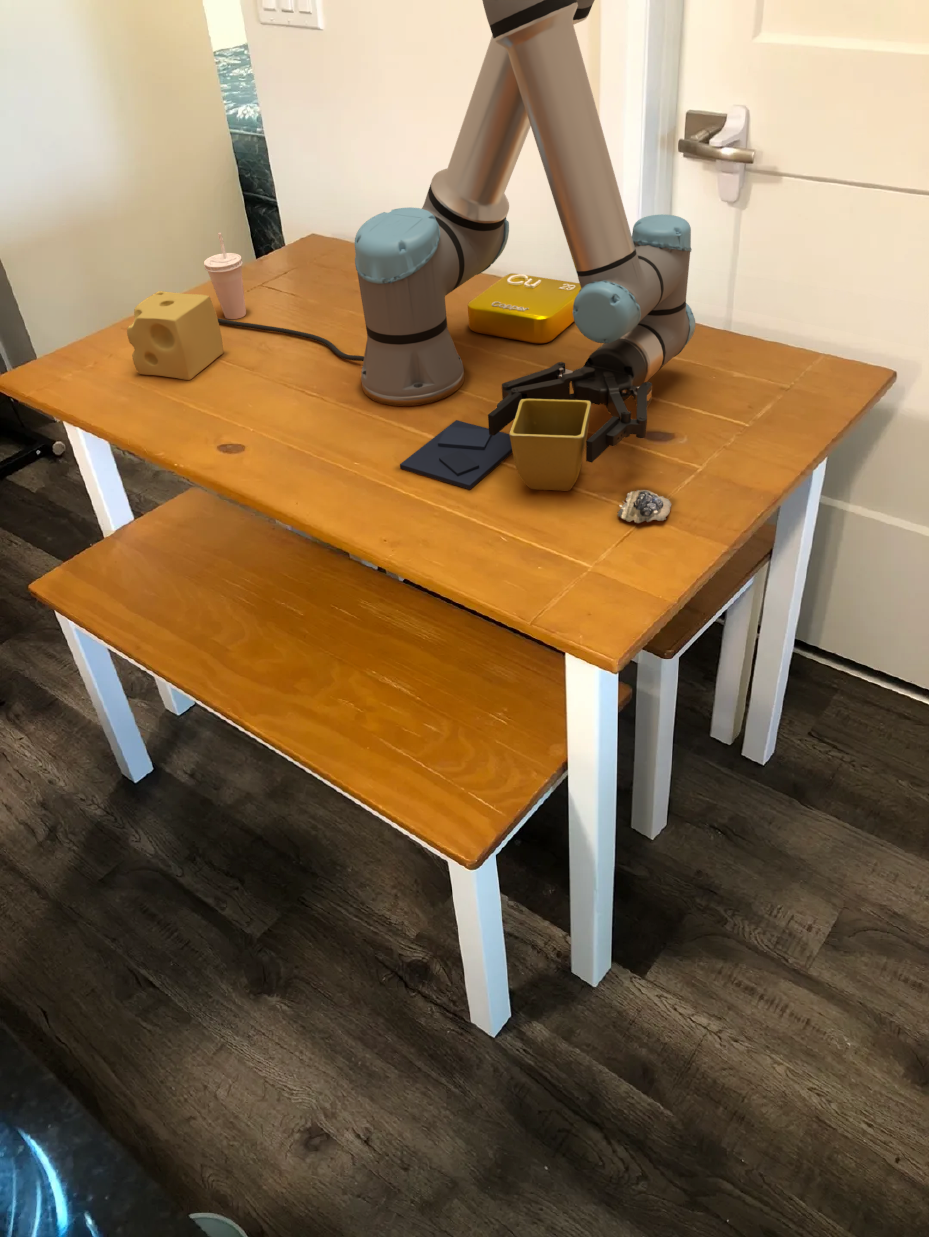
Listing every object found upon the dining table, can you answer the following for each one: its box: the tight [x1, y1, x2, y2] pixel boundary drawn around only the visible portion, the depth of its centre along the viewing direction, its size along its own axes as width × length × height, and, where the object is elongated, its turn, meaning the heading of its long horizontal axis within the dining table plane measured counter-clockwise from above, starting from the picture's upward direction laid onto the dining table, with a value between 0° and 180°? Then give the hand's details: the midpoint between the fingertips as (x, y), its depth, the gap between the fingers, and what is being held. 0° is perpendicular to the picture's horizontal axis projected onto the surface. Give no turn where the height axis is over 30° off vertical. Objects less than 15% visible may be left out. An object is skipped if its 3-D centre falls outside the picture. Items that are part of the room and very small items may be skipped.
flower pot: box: [508, 399, 592, 492], centre depth 120 cm, size 9×9×9 cm
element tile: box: [467, 272, 581, 345], centre depth 159 cm, size 15×15×5 cm
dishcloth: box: [399, 419, 513, 490], centre depth 129 cm, size 11×13×1 cm
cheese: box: [126, 290, 224, 381], centre depth 155 cm, size 10×11×10 cm
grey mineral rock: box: [617, 489, 672, 524], centre depth 116 cm, size 7×8×2 cm
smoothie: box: [203, 232, 247, 320], centre depth 167 cm, size 6×6×14 cm
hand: (538, 438), depth 117 cm, fingers open, 13 cm apart
